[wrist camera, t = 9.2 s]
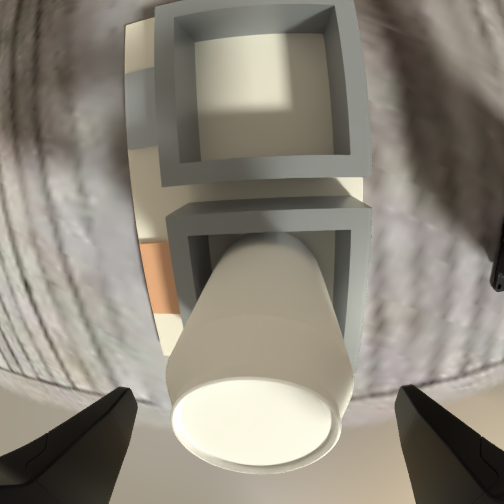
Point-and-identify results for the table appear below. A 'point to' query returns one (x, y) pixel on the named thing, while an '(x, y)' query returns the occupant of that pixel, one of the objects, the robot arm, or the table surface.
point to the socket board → (248, 145)
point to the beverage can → (261, 361)
